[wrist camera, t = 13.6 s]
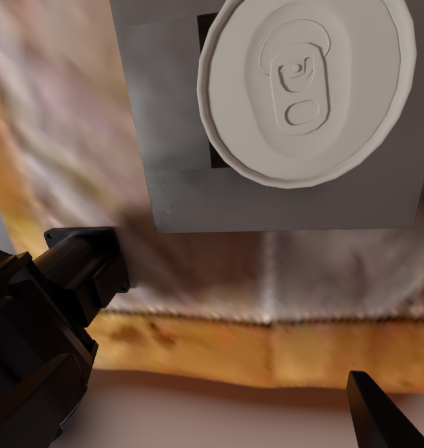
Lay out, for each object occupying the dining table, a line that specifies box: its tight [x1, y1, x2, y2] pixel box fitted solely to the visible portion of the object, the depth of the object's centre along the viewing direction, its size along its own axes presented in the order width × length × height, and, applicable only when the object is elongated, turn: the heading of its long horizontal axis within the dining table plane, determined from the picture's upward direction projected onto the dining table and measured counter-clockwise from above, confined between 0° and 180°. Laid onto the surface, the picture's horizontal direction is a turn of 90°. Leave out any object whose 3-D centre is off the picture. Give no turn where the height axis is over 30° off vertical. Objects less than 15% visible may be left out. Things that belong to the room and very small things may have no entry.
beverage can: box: [197, 0, 417, 189], centre depth 11 cm, size 5×5×12 cm
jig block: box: [110, 0, 424, 233], centre depth 15 cm, size 15×15×4 cm
